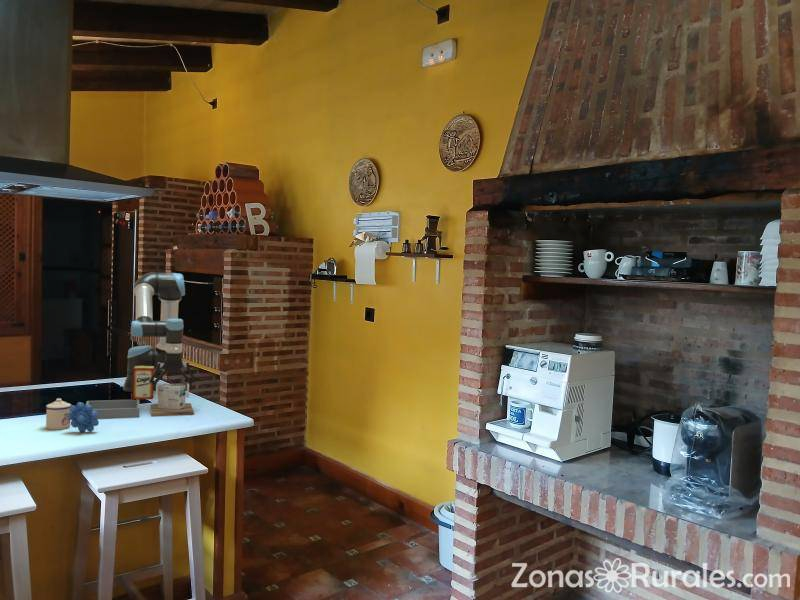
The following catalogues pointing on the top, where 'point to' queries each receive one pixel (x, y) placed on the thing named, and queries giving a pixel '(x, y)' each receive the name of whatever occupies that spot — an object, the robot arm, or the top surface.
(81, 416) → the grapes
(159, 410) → the walnut board
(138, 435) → the top surface
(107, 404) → the grey bin
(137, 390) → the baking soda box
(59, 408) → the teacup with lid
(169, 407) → the light bulb box
